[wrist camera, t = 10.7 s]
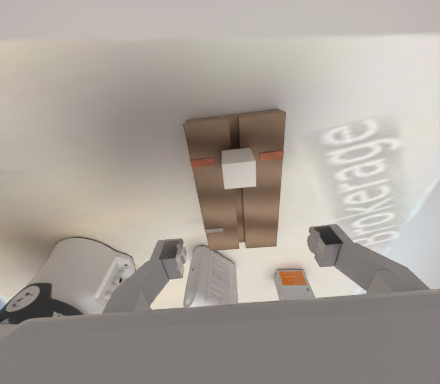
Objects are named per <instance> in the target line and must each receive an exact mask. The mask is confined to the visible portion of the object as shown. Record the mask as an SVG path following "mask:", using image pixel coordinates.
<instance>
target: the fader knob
mask: <svg viewBox="0 0 440 384" xmlns="http://www.w3.org/2000/svg"><path fill="white" fill-rule="evenodd" d="M222 171H223V180H224V189H233V188H244V187H255V186H256V160H255V158H254V156H253V153H252V151H251V149H250V148H242V149H233V150H224V151H222Z"/></svg>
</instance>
